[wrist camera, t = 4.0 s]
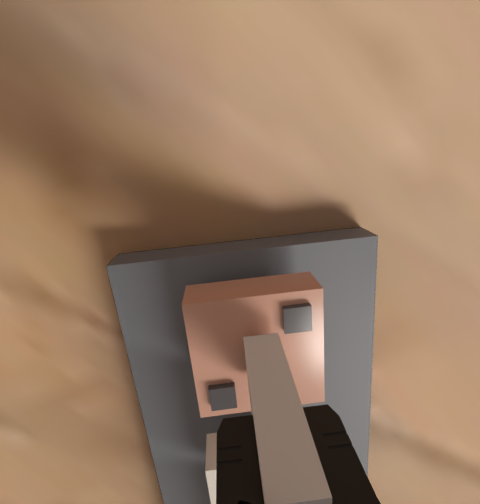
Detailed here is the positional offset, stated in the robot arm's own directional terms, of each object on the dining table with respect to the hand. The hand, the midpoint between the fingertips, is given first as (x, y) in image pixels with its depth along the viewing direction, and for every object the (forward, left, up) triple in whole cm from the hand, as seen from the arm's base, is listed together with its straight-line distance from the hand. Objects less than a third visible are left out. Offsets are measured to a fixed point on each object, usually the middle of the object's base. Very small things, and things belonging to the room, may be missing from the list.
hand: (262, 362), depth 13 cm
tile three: (0, 0, -3) cm, 3 cm away
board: (0, -8, -6) cm, 10 cm away
